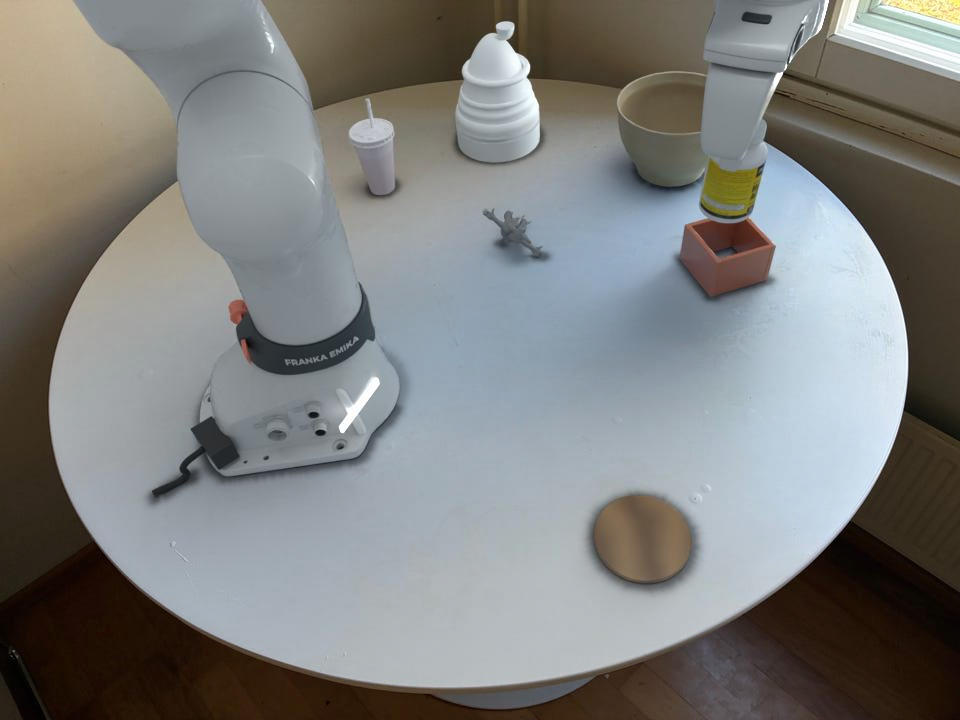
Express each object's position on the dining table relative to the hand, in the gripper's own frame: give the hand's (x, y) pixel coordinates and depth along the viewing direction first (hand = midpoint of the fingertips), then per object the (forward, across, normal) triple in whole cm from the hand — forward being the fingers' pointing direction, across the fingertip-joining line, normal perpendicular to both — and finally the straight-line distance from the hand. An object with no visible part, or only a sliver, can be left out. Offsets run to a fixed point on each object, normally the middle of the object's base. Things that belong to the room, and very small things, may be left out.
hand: (738, 148), depth 73 cm
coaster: (+24, +30, +3) cm, 38 cm away
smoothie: (+24, -10, -50) cm, 57 cm away
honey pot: (+24, -27, -40) cm, 54 cm away
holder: (+23, -10, 0) cm, 25 cm away
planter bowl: (+24, -28, -13) cm, 39 cm away
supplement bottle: (+7, 0, 0) cm, 7 cm away
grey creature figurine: (+24, -4, -27) cm, 36 cm away
